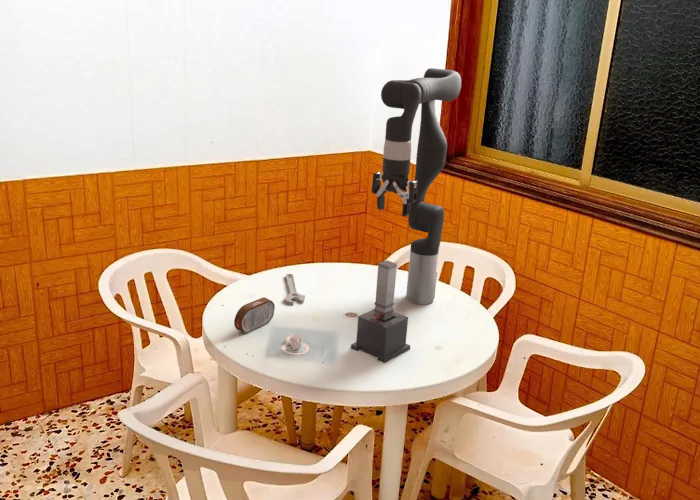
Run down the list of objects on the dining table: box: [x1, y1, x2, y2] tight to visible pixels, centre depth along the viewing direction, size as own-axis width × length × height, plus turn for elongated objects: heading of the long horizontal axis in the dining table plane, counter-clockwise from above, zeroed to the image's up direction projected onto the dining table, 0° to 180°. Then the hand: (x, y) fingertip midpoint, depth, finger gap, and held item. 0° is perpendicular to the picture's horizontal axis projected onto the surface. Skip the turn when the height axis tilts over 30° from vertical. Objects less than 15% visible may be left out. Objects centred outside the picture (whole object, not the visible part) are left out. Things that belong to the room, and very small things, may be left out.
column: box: [374, 259, 398, 322], centre depth 185 cm, size 4×4×19 cm
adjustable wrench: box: [284, 273, 306, 307], centre depth 227 cm, size 25×6×2 cm, turn 5°
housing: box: [350, 308, 411, 364], centre depth 189 cm, size 12×12×11 cm
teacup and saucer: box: [280, 333, 311, 356], centre depth 188 cm, size 9×8×4 cm
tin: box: [233, 297, 276, 334], centre depth 197 cm, size 15×3×8 cm, turn 144°
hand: (392, 212), depth 189 cm, fingers open, 8 cm apart
